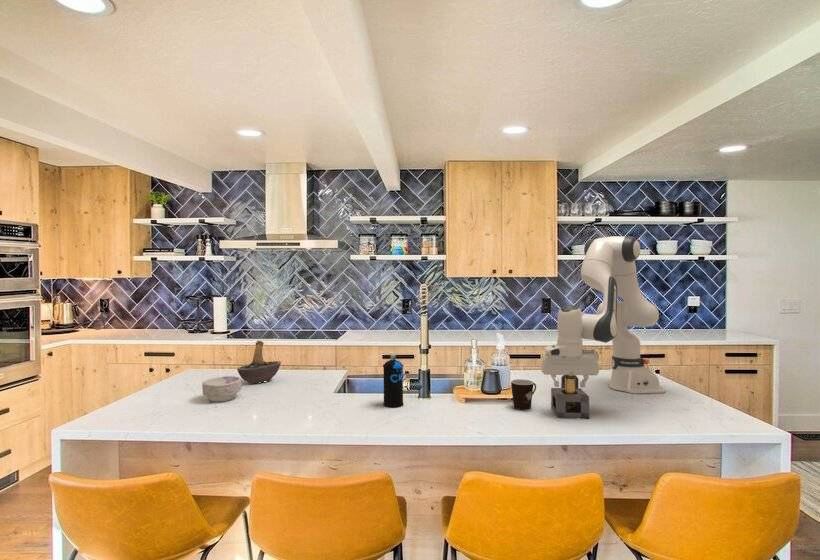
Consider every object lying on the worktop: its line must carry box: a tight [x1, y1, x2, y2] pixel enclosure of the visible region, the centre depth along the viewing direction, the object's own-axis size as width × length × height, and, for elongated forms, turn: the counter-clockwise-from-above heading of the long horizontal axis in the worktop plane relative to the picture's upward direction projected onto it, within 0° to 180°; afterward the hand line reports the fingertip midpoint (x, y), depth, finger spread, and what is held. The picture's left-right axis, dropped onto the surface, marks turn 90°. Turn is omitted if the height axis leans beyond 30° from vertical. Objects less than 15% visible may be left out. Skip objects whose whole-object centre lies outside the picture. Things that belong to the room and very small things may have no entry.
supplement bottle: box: [560, 375, 580, 388], centre depth 185 cm, size 7×7×12 cm
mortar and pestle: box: [236, 340, 282, 384], centre depth 214 cm, size 15×17×20 cm
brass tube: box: [565, 372, 575, 411], centre depth 166 cm, size 4×4×16 cm
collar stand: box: [550, 387, 590, 420], centre depth 166 cm, size 11×11×8 cm
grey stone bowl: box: [201, 375, 243, 403], centre depth 188 cm, size 15×15×8 cm
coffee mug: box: [510, 378, 537, 411], centre depth 174 cm, size 12×9×10 cm
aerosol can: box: [382, 354, 405, 409], centre depth 178 cm, size 8×8×20 cm
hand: (569, 386), depth 166 cm, fingers open, 8 cm apart
